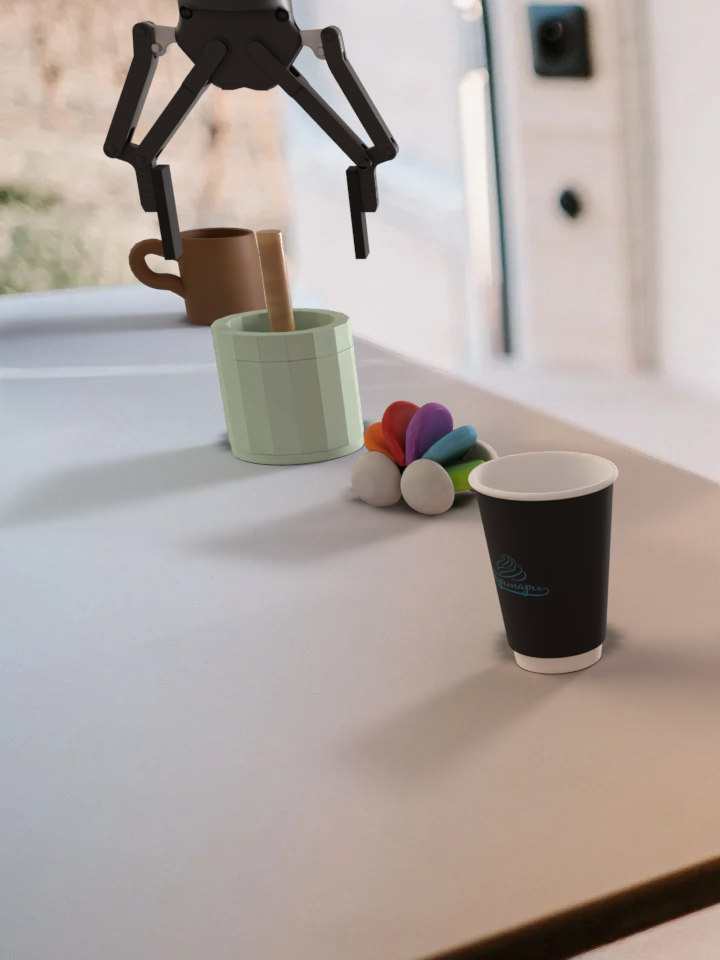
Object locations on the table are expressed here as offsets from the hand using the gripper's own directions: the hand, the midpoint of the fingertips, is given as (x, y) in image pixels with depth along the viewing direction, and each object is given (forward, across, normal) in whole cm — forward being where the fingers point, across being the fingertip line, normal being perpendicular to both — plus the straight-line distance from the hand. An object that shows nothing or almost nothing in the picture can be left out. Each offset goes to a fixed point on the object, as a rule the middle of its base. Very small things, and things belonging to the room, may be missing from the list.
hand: (269, 256), depth 122 cm
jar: (+15, 0, 0) cm, 15 cm away
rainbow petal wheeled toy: (+15, +11, -15) cm, 24 cm away
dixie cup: (+14, +20, -45) cm, 52 cm away
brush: (+14, 0, 0) cm, 14 cm away
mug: (+16, -15, +45) cm, 50 cm away
